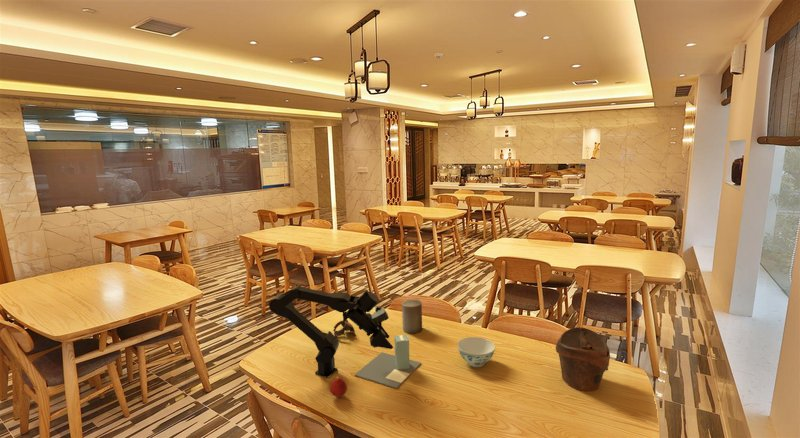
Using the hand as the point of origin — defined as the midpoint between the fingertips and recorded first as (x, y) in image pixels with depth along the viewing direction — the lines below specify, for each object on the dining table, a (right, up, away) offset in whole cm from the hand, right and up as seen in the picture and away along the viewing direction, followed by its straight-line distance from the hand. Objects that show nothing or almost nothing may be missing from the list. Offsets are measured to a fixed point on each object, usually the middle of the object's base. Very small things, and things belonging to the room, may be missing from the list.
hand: (390, 342), depth 157 cm
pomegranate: (-18, -15, -16) cm, 28 cm away
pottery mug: (-23, -7, +33) cm, 41 cm away
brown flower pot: (+71, -12, -10) cm, 73 cm away
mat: (-1, -11, +1) cm, 11 cm away
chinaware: (+35, -10, +5) cm, 37 cm away
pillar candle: (+10, -5, +37) cm, 39 cm away
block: (+5, -10, +3) cm, 12 cm away
